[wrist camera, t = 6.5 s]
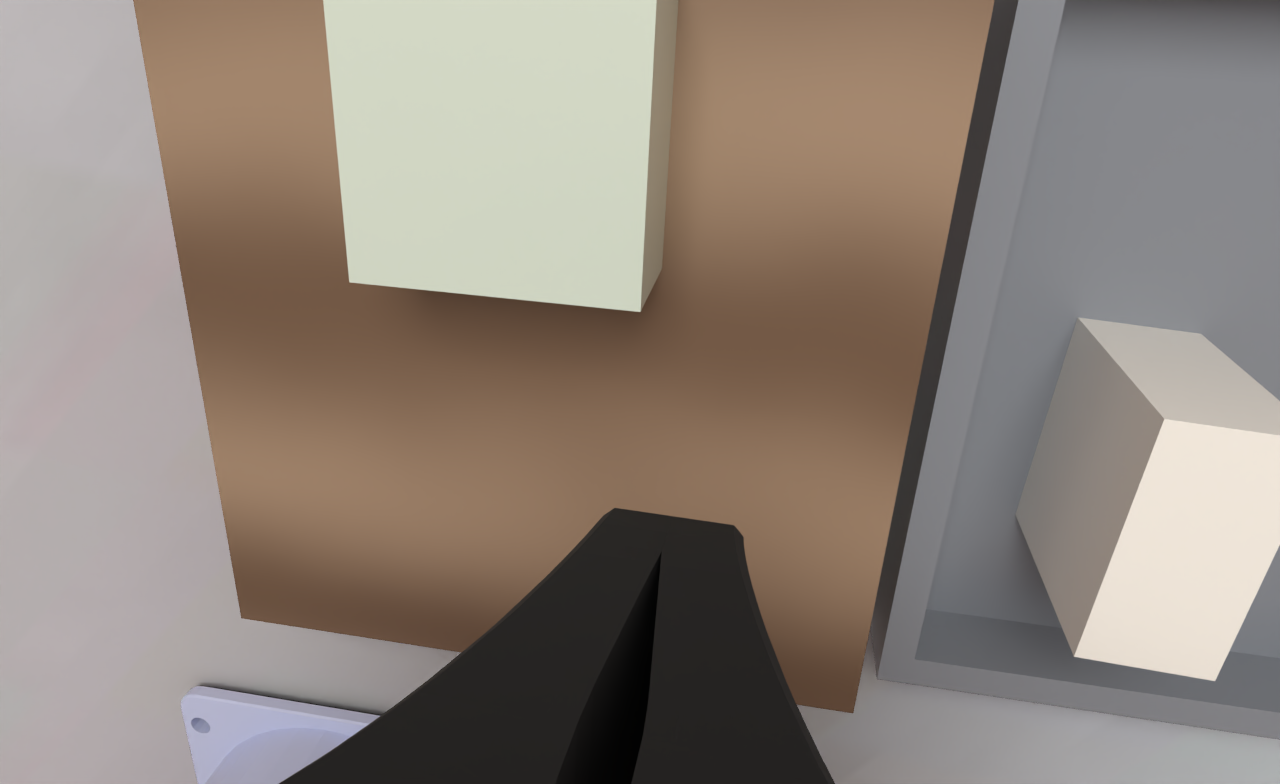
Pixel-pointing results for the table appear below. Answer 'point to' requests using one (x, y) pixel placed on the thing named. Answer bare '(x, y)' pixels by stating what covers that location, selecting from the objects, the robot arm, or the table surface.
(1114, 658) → the cream tile
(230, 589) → the table surface
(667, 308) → the walnut board
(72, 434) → the table surface
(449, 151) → the sage tile
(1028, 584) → the tray
